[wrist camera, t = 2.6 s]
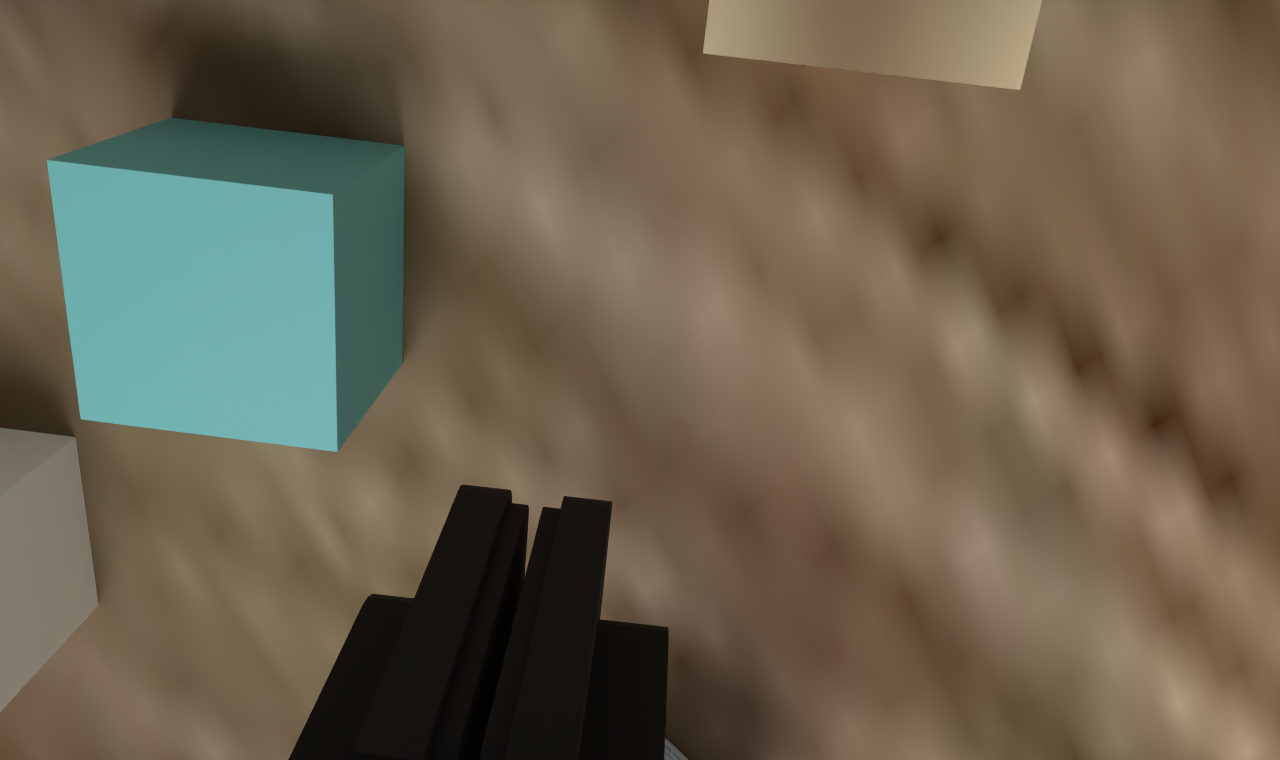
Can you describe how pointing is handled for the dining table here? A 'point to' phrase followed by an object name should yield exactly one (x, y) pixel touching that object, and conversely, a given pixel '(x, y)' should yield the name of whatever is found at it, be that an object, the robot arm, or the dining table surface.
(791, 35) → the maple block
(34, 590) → the white block
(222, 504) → the dining table surface
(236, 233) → the teal block
